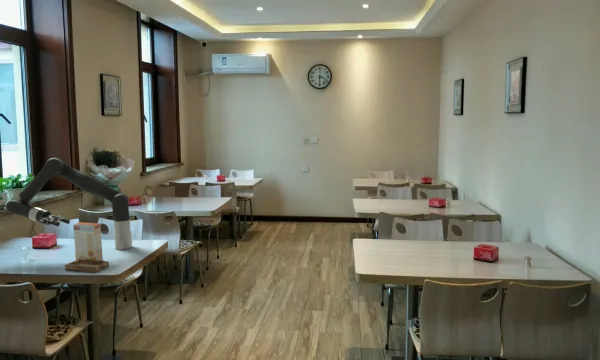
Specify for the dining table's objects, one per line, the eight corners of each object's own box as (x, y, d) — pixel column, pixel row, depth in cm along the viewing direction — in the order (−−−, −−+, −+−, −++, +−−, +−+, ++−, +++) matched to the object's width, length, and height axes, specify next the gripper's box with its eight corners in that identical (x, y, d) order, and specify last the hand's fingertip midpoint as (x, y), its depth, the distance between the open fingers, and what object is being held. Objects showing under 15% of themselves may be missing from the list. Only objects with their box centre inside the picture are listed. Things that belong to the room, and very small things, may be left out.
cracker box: (103, 259, 282) (101, 223, 280) (95, 262, 277) (93, 225, 274) (83, 257, 287) (80, 221, 284) (75, 260, 281) (72, 223, 279)
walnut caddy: (79, 264, 273) (79, 259, 273) (108, 266, 268) (108, 261, 268) (65, 270, 263) (64, 264, 263) (95, 272, 258) (94, 267, 258)
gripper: (31, 210, 278) (56, 218, 275) (49, 207, 292) (73, 215, 289) (29, 223, 279) (54, 231, 276) (47, 219, 293) (71, 227, 290)
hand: (64, 223), depth 282 cm, fingers open, 8 cm apart
